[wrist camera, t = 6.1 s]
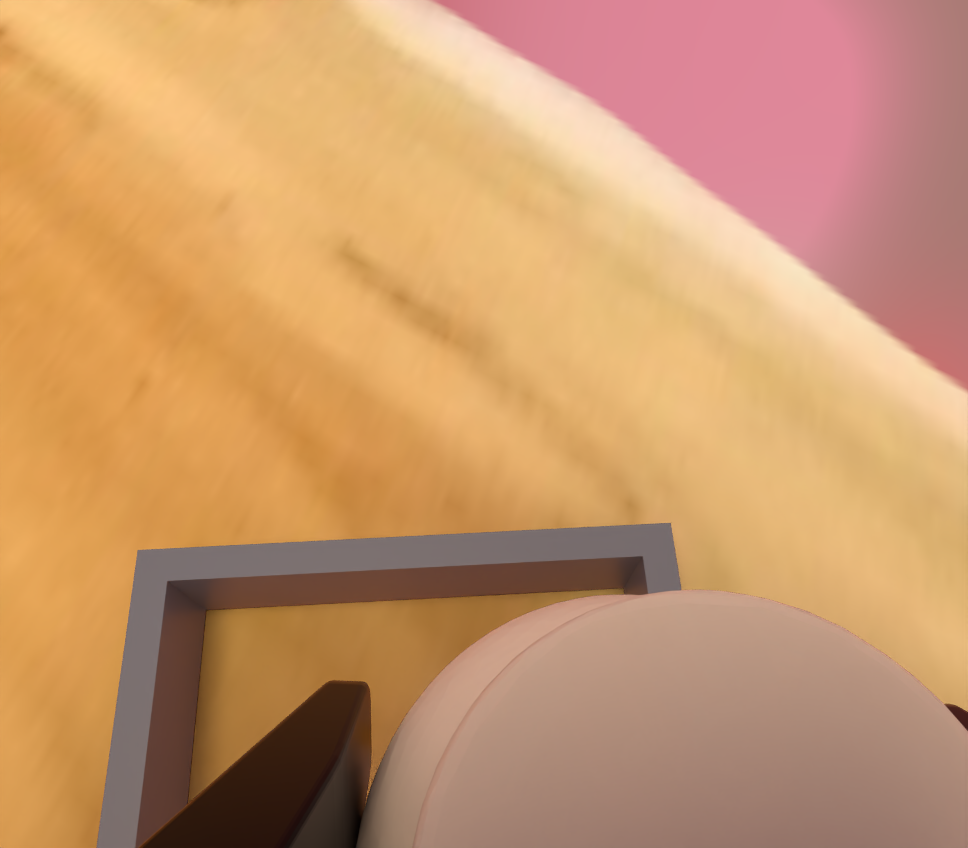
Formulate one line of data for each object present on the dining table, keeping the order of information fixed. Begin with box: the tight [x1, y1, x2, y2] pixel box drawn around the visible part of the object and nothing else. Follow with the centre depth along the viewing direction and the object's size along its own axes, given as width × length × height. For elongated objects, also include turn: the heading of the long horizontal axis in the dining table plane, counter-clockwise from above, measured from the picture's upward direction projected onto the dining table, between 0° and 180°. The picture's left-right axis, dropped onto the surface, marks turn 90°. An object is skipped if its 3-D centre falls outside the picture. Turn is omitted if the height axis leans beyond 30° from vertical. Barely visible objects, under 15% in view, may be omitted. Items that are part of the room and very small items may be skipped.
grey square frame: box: [97, 523, 681, 848], centre depth 18 cm, size 13×13×3 cm
